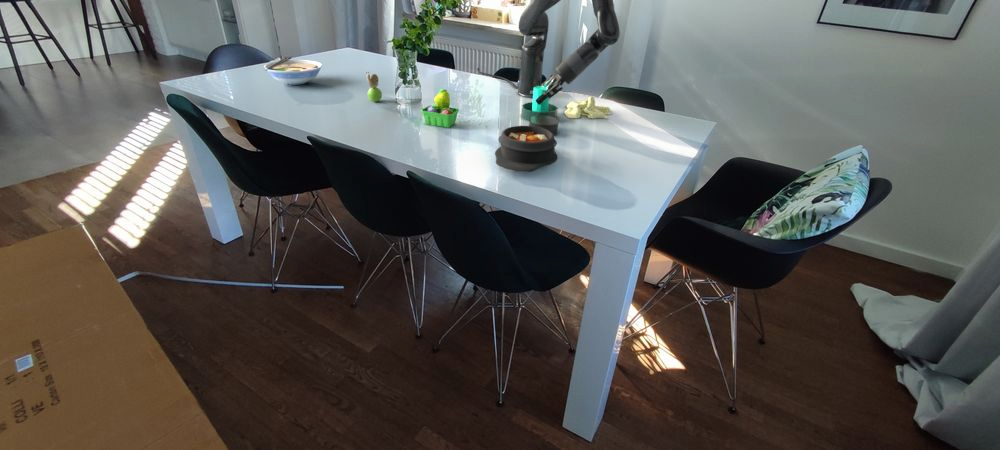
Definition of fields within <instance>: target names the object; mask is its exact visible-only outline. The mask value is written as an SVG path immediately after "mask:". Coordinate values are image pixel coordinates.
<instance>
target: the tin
mask: <svg viewBox="0 0 1000 450" xmlns="http://www.w3.org/2000/svg"><path fill="white" fill-rule="evenodd" d="M532 104H533V101H531V102H526V103H524V104H522V106H521V118H522V119H523V120H525V121H527V122H529V118H530V117H532V116H538V115H544V116H551V117H554V118H557V119H558V113H559V107H558V106H557V105H555V104H552V103H549V107H548V112H535V111H532Z"/></svg>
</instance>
